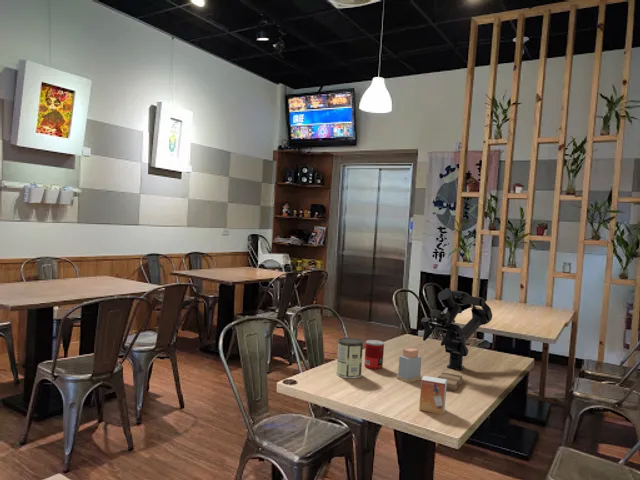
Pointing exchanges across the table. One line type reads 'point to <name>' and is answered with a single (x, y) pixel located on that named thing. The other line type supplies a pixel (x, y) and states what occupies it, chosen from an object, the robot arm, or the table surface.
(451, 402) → the table surface
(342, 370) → the coffee can
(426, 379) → the small box
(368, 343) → the canned food
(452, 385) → the dock
